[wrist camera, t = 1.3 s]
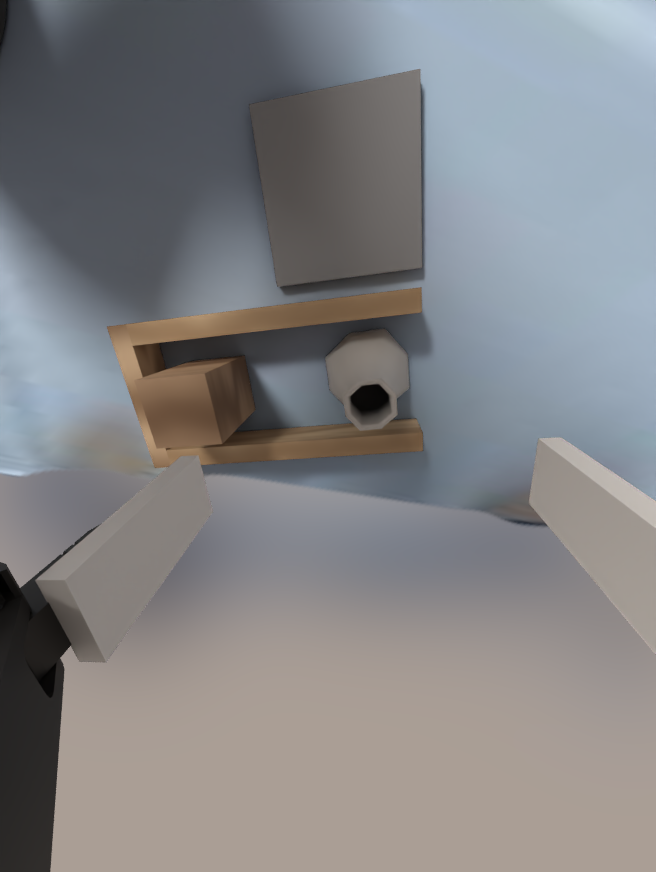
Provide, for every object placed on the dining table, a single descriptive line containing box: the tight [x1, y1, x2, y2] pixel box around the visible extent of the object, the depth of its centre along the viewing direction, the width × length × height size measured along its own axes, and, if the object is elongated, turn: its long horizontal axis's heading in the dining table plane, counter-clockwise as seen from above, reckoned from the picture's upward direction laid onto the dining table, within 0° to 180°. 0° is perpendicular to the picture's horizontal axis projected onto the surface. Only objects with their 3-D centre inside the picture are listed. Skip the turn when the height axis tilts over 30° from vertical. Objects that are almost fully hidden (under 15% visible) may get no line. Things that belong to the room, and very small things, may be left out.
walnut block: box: [134, 355, 256, 449], centre depth 26 cm, size 5×5×8 cm
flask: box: [325, 328, 410, 431], centre depth 24 cm, size 7×7×10 cm
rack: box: [107, 288, 423, 468], centre depth 28 cm, size 12×24×4 cm, turn 96°
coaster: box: [249, 69, 422, 287], centre depth 23 cm, size 11×11×1 cm
